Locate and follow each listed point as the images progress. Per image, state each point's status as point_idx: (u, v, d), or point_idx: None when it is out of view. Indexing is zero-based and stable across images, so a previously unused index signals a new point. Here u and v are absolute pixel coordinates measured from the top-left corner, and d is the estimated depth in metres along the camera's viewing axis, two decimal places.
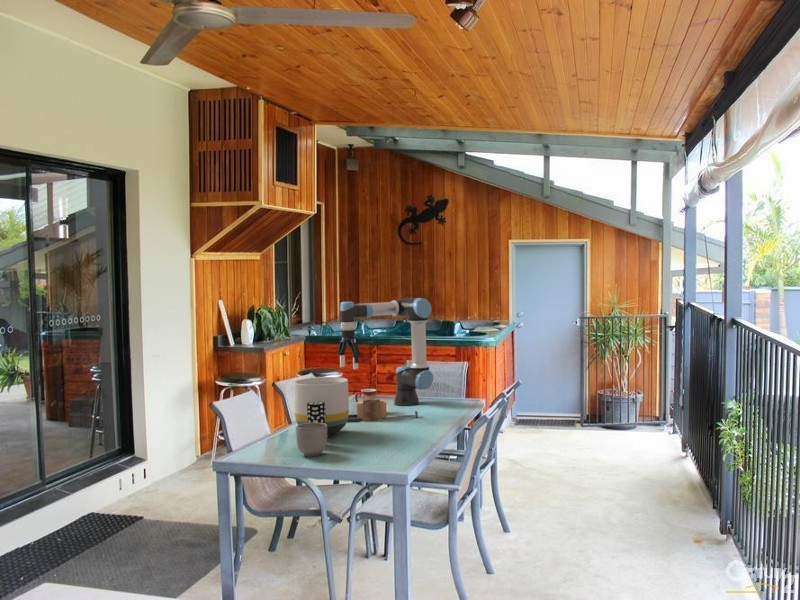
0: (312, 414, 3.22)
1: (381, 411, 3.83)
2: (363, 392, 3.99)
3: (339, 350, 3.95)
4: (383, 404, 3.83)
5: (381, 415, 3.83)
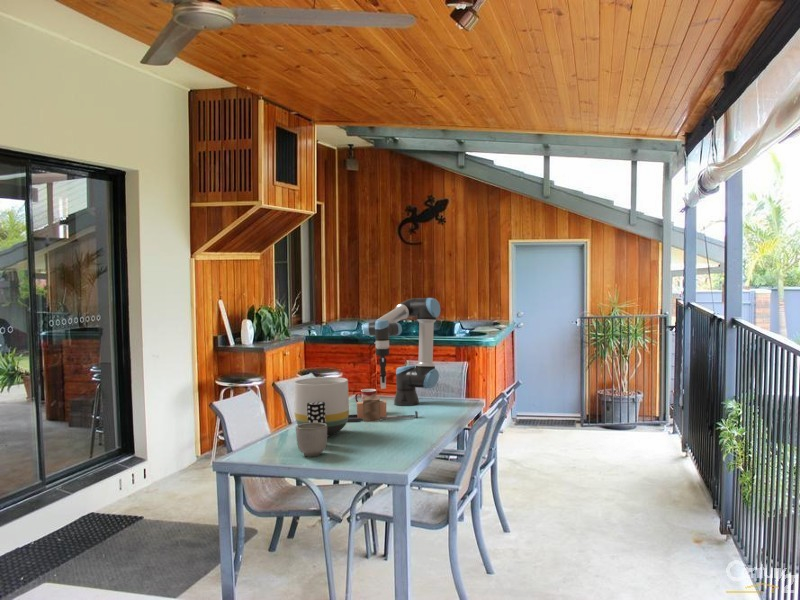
0: (312, 414, 3.22)
1: (381, 411, 3.83)
2: (363, 392, 3.99)
3: (380, 368, 3.94)
4: (383, 404, 3.83)
5: (381, 415, 3.83)
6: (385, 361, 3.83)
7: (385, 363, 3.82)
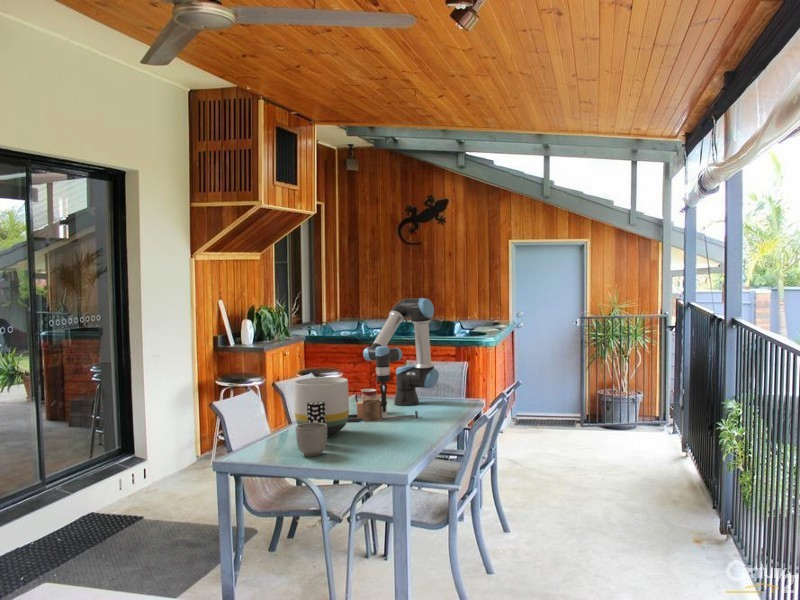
0: (312, 414, 3.22)
1: (381, 411, 3.83)
2: (363, 392, 3.99)
3: (381, 397, 3.91)
4: None
5: (381, 415, 3.83)
6: (386, 388, 3.84)
7: (386, 391, 3.83)
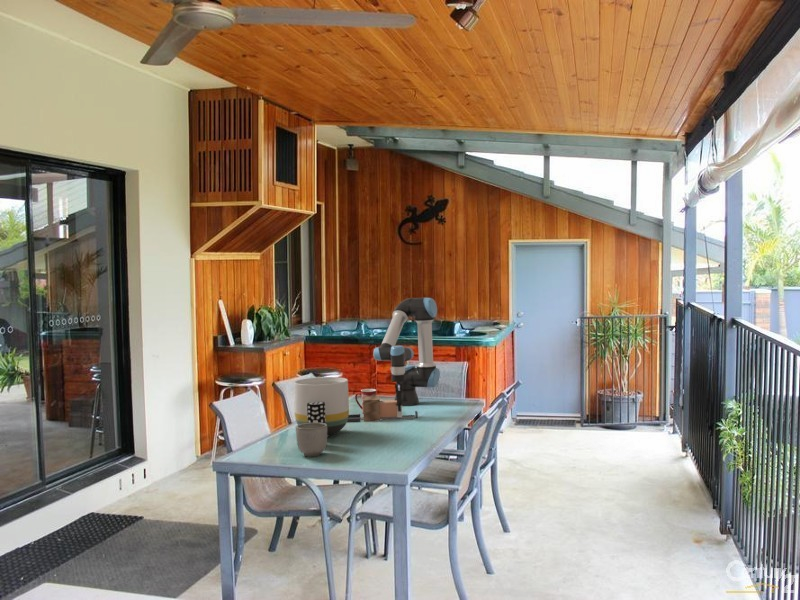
0: (312, 414, 3.22)
1: (396, 410, 3.84)
2: (363, 392, 3.99)
3: (396, 397, 3.92)
4: None
5: (396, 414, 3.84)
6: (401, 388, 3.84)
7: (401, 390, 3.84)
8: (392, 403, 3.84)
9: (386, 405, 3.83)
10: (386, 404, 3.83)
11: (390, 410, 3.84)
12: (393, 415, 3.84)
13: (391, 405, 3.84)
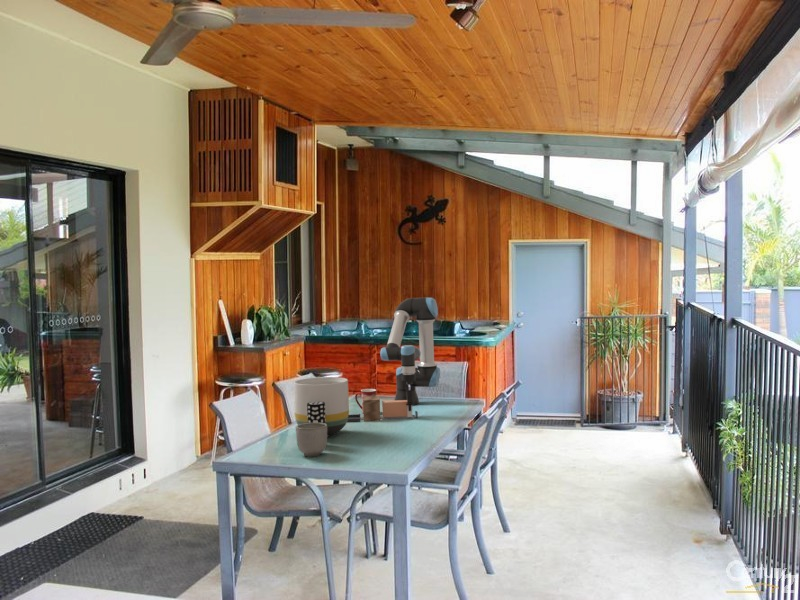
0: (312, 414, 3.22)
1: (406, 410, 3.84)
2: (363, 392, 3.99)
3: (406, 396, 3.92)
4: None
5: (406, 414, 3.84)
6: (411, 387, 3.84)
7: None
8: (402, 403, 3.84)
9: (396, 405, 3.84)
10: (396, 404, 3.84)
11: (401, 410, 3.84)
12: (403, 415, 3.84)
13: (401, 405, 3.84)
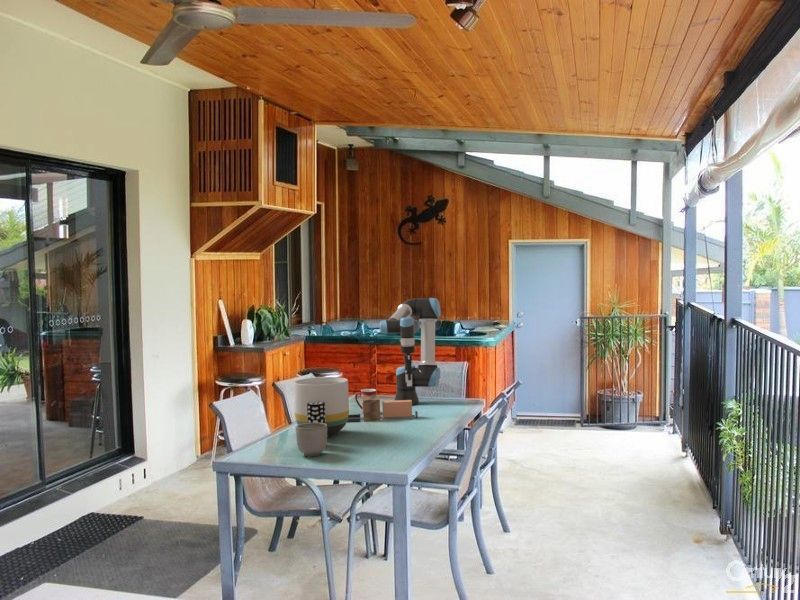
0: (312, 414, 3.22)
1: (407, 410, 3.84)
2: (363, 392, 3.99)
3: (405, 365, 3.94)
4: (409, 403, 3.84)
5: (407, 414, 3.84)
6: (411, 358, 3.84)
7: (411, 360, 3.83)
8: (402, 403, 3.84)
9: (396, 405, 3.84)
10: (396, 404, 3.84)
11: (401, 410, 3.84)
12: (403, 415, 3.84)
13: (401, 405, 3.84)
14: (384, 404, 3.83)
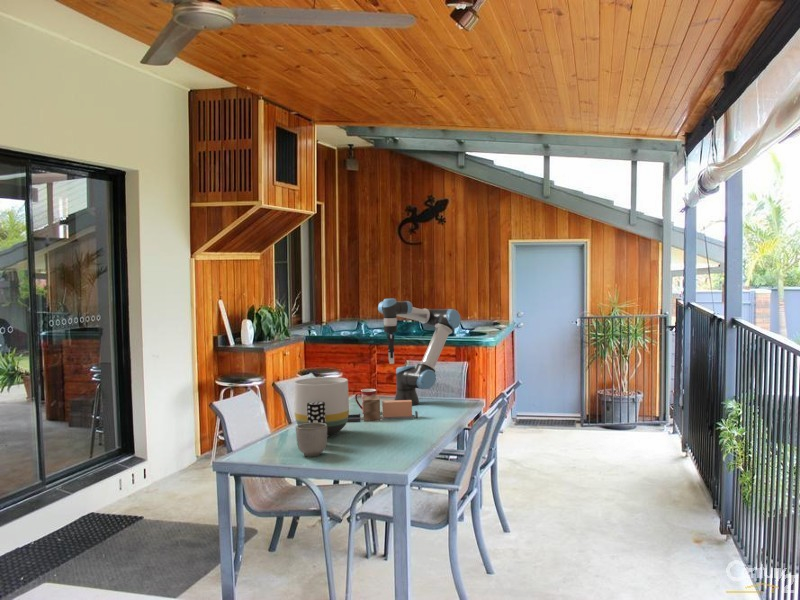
0: (312, 414, 3.22)
1: (407, 410, 3.84)
2: (363, 392, 3.99)
3: (388, 345, 4.11)
4: (409, 403, 3.84)
5: (407, 414, 3.84)
6: (393, 338, 4.01)
7: (393, 339, 4.00)
8: (402, 403, 3.84)
9: (396, 405, 3.84)
10: (396, 404, 3.84)
11: (401, 410, 3.84)
12: (403, 415, 3.84)
13: (401, 405, 3.84)
14: (384, 404, 3.83)
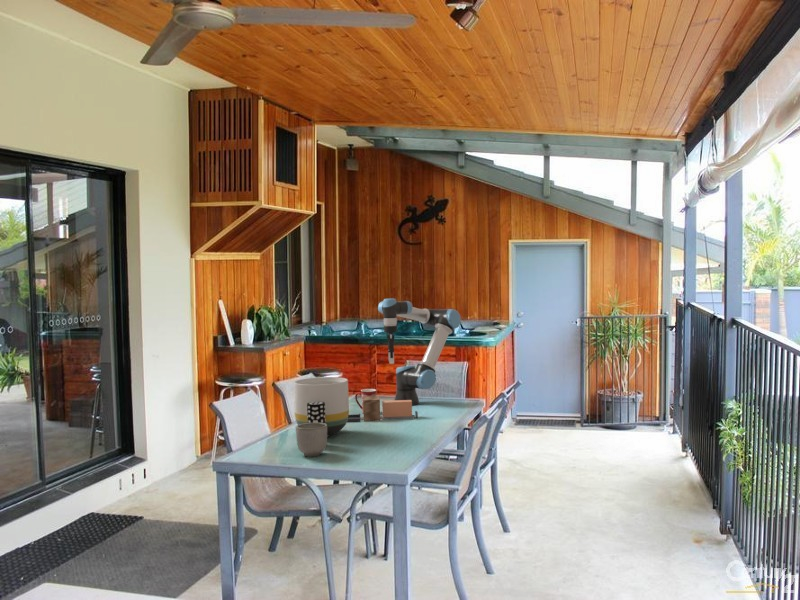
0: (312, 414, 3.22)
1: (407, 410, 3.84)
2: (363, 392, 3.99)
3: (388, 345, 4.11)
4: (409, 403, 3.84)
5: (407, 414, 3.84)
6: (393, 338, 4.01)
7: (393, 339, 4.00)
8: (402, 403, 3.84)
9: (396, 405, 3.84)
10: (396, 404, 3.84)
11: (401, 410, 3.84)
12: (403, 415, 3.84)
13: (401, 405, 3.84)
14: (384, 404, 3.83)
